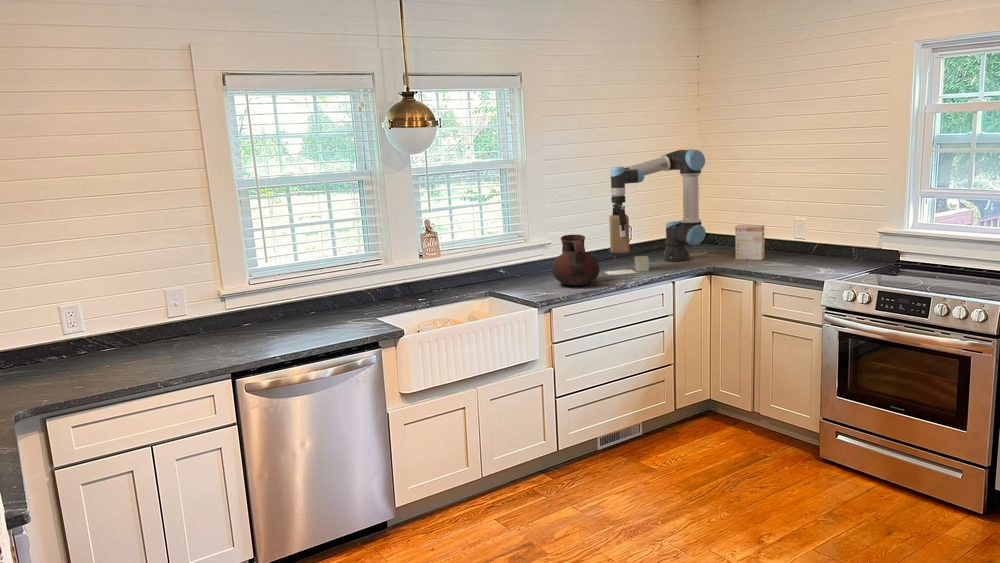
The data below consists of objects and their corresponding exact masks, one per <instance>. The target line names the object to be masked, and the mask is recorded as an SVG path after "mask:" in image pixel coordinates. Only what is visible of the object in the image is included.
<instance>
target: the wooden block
mask: <svg viewBox="0 0 1000 563" xmlns="http://www.w3.org/2000/svg"><path fill="white" fill-rule="evenodd" d="M625 215H626V222H627V223H626V224H625V237H620V225H619V224H620V218H619V215H612V214H611V215H609V216H608V217H609V218H608V219H609V220H608V222H609V245H610V246H609V248H610V252H611V254H621V253H622V254H624V253H630V251H631V250H630V225H629V223H630V222H629V221H630V219H629V216H628V214H625Z"/></svg>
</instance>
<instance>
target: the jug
mask: <svg viewBox="0 0 1000 563" xmlns="http://www.w3.org/2000/svg"><path fill="white" fill-rule="evenodd" d="M585 239H586V236H584V235H582V234H564V235H563V236H561V237H560V241H561V245H562V250H561V254H560V255H558V256H557V257H555V258H554V260H553V261H552V264H551V274H552V276H553V277H554V278H555V279H556V280H557V281H558V282H559V283H561V284H563V285H566V286H569V287H571V286H572V287H582V286H585V285H589V284H591V283H592V282H593V281H595V280H596V279H597V278H598V276H599V273H600V264H599V261H598V260H597V259H596V258H595V257H594V256H593V255H592V254H590V253H588V252H586V249H585V248H586V247H585Z"/></svg>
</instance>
